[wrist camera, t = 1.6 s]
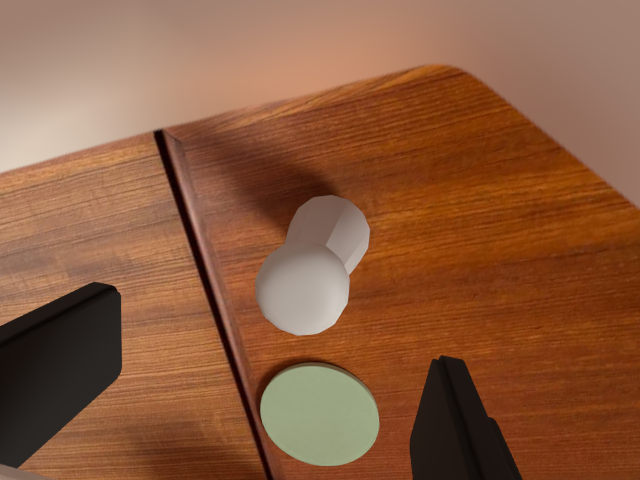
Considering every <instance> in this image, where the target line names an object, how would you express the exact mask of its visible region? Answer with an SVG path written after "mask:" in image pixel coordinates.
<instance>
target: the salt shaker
mask: <svg viewBox="0 0 640 480" xmlns="http://www.w3.org/2000/svg"><path fill="white" fill-rule="evenodd" d="M369 234H370V229H369V226H368V224H367V222H366V219H365V217H364V215H363V213H362V212H361V211H360V210H359V209H358V208H357V207H356V206H355V205H354V204H353V203H352V202H351V201H350V200H348V199H344V198H341V197H337V196H333V195H327V196H319V197H313V198H311V199H310V200H309V201H307V202H306V203H305V204H303V205H302V206H300V207H299V208H298V209H297V211H296V213H295V215H294V217H293V219H292V221H291V223H290V225H289V229H288V233H287V236H286V240H285V243H284V244H283V245H282V246H281V247H279V248H278V249H276V250H275V251H274V252H272V253H271V254H270V255H268V256H267V257H266V259H265V261H264V263H263V265H262V266H261V268H260V270H259V272H258V274H257V277H256V279H255V294H256V301H257V303H258V305H259V307H260V309H261V311H262V313H263V315H264V317H265V318H267V319H268V320H269V321H270V322H271V323H273V324H274V325H275V326H276V327H277V328H278V329H280V330H283V331H286V332H289V333H292V334H295V335H298V336H299V335H310V334H318V333H320V332H322V331H323V330H325V329H327V328H329V327H331V326H332V325H334V324H335V322H336V321H337V319H338V318H339V316H340V314H341V313H342V311H343V310H344V308H345V306H346V305H347V303H348V293H349V275H350V273H351V272H352V271H353V270H354V268H355V267H356V266H357V265H358V263H359V262H360V260H361V259H362V257H363V255H364V254H365V252H366V250H367V249H368V243H369Z"/></svg>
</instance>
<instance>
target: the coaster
mask: <svg viewBox="0 0 640 480" xmlns="http://www.w3.org/2000/svg"><path fill="white" fill-rule="evenodd" d="M260 413H261V419H262V423H263V425H264V428H265V430H266V432H267V434H268V435H269V437H270V438H271V439H272V441H273V442H274V443H275V444H276V445H277V446H278V447H279V448H280V449H282V450H283V451H284V452H286V453H287V454H288V455H290V456H292V457H294V458H296V459H298V460H300V461H303V462H306V463H309V464H314V465H320V466H336V465H342V464H346V463H349V462H351V461H354V460H356V459H358V458H359V457H361V456H362V455H363V454H365V453H366V452H367V451H368V450H369V449H370V447H371V446H372V445H373V443H374V441H375V439H376V437H377V434H378V429H379V412H378V407H377V404H376V401H375V399H374V397H373V395H372V394H371V392H370V391H369V389H368V388H367V387H366V386H365V385H364V384H363V383H362V382H361V381H360V380H359V379H358V378H357V377H355V376H354V375H352V374H351V373H349V372H348V371H346V370H344V369H342V368H339V367H337V366H333V365H330V364H325V363H317V362H308V363H300V364H296V365H293V366H290V367H288V368H286V369H283V370H282V371H280V372H279V373H277V374H276V375H275V376H274V377H273V378H272V379H271V380H270V382H269V383H268V385H267V386H266V388H265V390H264V393H263V395H262V398H261V404H260Z"/></svg>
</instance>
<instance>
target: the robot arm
mask: <svg viewBox="0 0 640 480" xmlns="http://www.w3.org/2000/svg"><path fill="white" fill-rule="evenodd" d="M121 369H122V342H121V295H120V293H119V292H117V289H116V287H114V286H112V285H108V284H103V283H98V282H93V283H90V284H88V285H86V286H84V287H81V288H79V289H77V290H75V291H73V292H71V293H69V294H67V295H65V296H62V297H60V298H58V299H56V300H54V301H52V302H50V303H48V304H46V305H44V306H41V307H39V308H37V309H35V310H33V311H31V312H29V313H27V314H25V315H23V316H20V317H18V318H16V319H14V320H12V321H10V322H8V323H6V324H4V325H2V326H0V480H57V479H53V478H49V477H46V476H42V475H38V474H35V473H31V472H27V471H24V470H20V469H17V468H18V467H19V466H21V465H22V464H23V463H24V462H25V461H26V460H27V459H28V458H29V457H31V456H32V455H33V454H34V453H35V452H36V451H37V450H38V449H40V448H41V447H42V446H43V445H44V444H45V443H46V442H47V441H48V440H50V439H51V438H52V437H53V436H54V435H55V434H56V433H57V432H58V431H60V430H61V429H62V428H63V427H64V426H65V425H66V424H67V423H68V422H70V421H71V420H72V419H73V418H74V417H75V416H76V415H77V414H78V413H80V412H81V411H82V410H83V409H84V408H85V407H86V406H87V405H88V404H90V403H91V402H92V401H93V400H94V399H95V398H96V397H97V396H99V395H100V394H101V393H102V392H103V391H104V390H105V389H106V388H107V387H109V386H110V385H111V384H112V383H113V382H114V381H115V380H116V379H117V378H118V376H119V375H120V372H121ZM410 457H411V466H412V474H413V480H523V479H522V477H521V475H520V473H519V470H518V468H517V466H516V464H515V462H514V459H513V457H512V455H511V453H510V450H509V448H508V446H507V444H506V442H505V439H504V437H503V435H502V433H501V431H500V428H499V426H498V424H497V423H496V421H495V420H494V419H493V418H491V417H488V416H487V413H486V411H485V409H484V406H483V404H482V402H481V399H480V397H479V395H478V392H477V390H476V388H475V385H474V383H473V381H472V378H471V376H470V374H469V371H468V369H467V367H466V364H465V362H464V361H463V360H462V359H457V358H452V357H448V356H443V355H442V356H440V358H439V360H436V359H433V360H432V362H431V365H430V368H429V372H428V376H427V379H426V383H425V386H424V390H423V394H422V397H421V401H420V405H419V408H418V412H417V415H416V419H415V423H414V426H413V430H412V434H411V438H410Z"/></svg>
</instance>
